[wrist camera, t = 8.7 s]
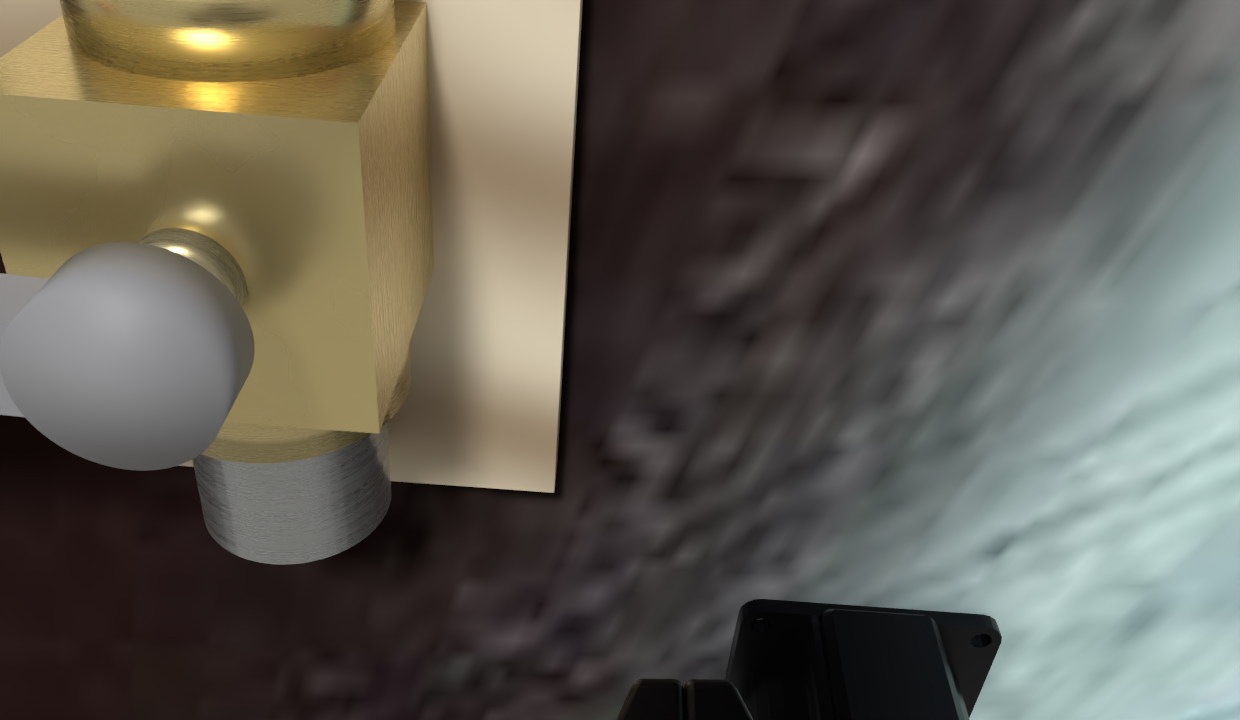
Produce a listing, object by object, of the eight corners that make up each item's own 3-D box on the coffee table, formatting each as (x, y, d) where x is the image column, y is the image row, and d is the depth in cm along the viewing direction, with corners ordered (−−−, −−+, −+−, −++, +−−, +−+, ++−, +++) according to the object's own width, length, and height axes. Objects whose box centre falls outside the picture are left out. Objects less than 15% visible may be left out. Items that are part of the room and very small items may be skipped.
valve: (442, 434, 23) (381, 678, 18) (212, 417, 23) (80, 658, 18) (423, -326, 15) (301, -292, 10) (70, -358, 15) (-243, -339, 10)
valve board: (557, 463, 24) (554, 492, 24) (114, 431, 24) (95, 459, 23) (604, -395, 15) (601, -395, 14) (-110, -461, 15) (-154, -465, 14)
